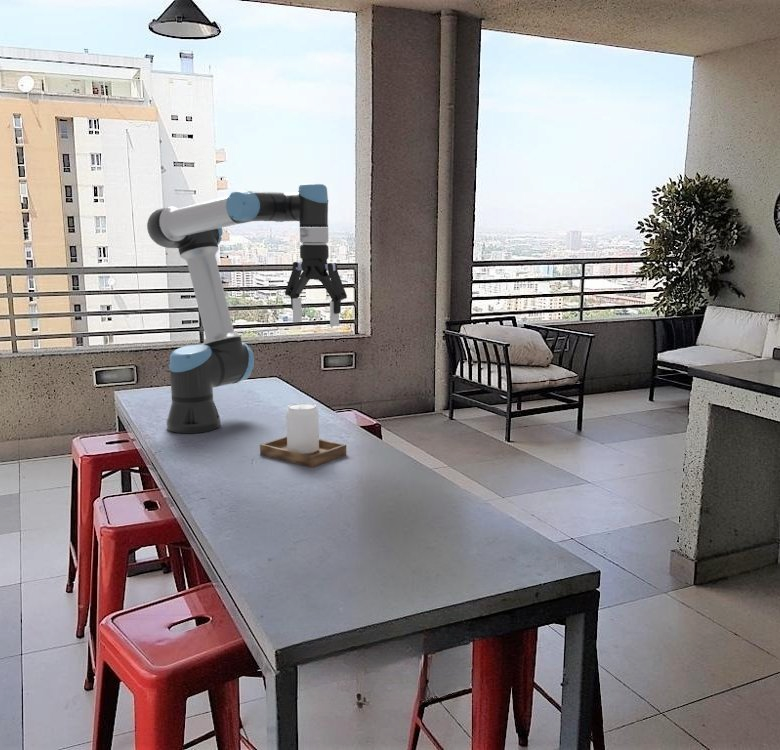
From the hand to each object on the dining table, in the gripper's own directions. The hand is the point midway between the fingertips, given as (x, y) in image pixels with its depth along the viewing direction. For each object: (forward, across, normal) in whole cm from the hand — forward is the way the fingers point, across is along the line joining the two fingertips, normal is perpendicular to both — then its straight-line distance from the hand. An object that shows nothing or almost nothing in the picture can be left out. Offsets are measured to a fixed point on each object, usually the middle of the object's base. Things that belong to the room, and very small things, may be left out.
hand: (315, 323), depth 200 cm
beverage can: (+31, +8, -14) cm, 35 cm away
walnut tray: (+32, +8, -14) cm, 36 cm away
